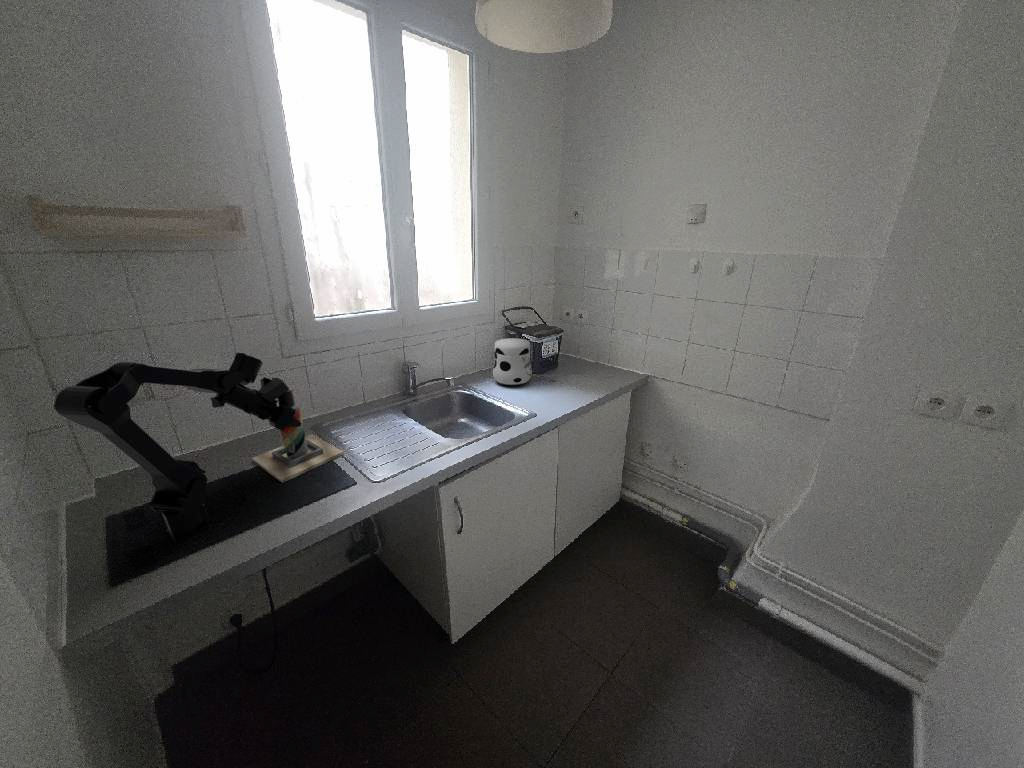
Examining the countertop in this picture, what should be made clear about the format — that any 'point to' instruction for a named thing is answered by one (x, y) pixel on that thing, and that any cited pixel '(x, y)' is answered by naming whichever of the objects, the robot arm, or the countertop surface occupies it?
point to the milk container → (512, 362)
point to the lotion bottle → (293, 429)
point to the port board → (297, 459)
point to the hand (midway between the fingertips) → (295, 422)
